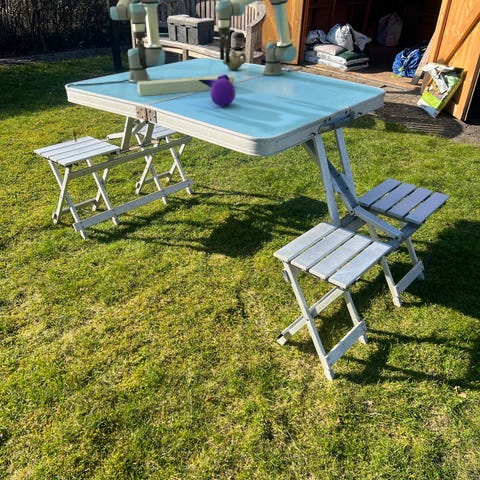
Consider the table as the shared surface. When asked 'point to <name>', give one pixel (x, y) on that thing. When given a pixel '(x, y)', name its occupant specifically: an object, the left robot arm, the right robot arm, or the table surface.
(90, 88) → the table surface
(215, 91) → the toy
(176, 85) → the thick block
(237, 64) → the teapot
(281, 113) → the table surface
